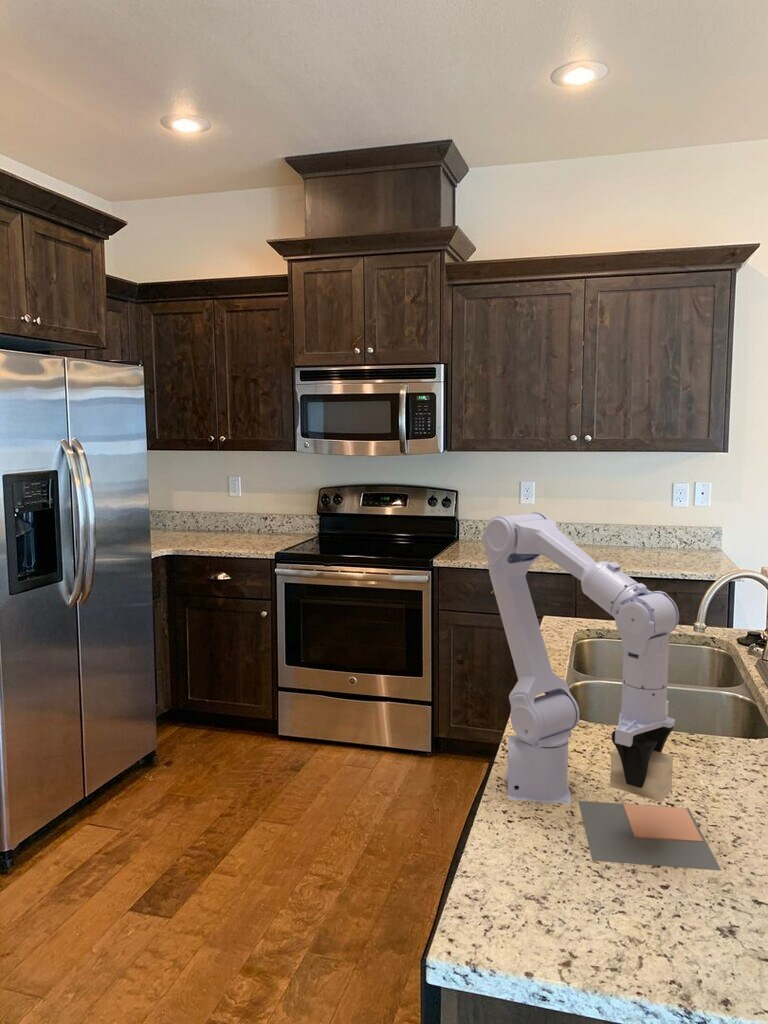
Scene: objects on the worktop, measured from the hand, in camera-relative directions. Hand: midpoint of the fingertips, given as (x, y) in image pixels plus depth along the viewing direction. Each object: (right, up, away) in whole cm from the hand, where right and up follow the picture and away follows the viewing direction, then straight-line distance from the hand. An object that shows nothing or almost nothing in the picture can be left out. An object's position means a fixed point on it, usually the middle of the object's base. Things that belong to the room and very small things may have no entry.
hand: (640, 779), depth 102 cm
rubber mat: (+1, -9, +2) cm, 9 cm away
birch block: (0, -1, 0) cm, 1 cm away
